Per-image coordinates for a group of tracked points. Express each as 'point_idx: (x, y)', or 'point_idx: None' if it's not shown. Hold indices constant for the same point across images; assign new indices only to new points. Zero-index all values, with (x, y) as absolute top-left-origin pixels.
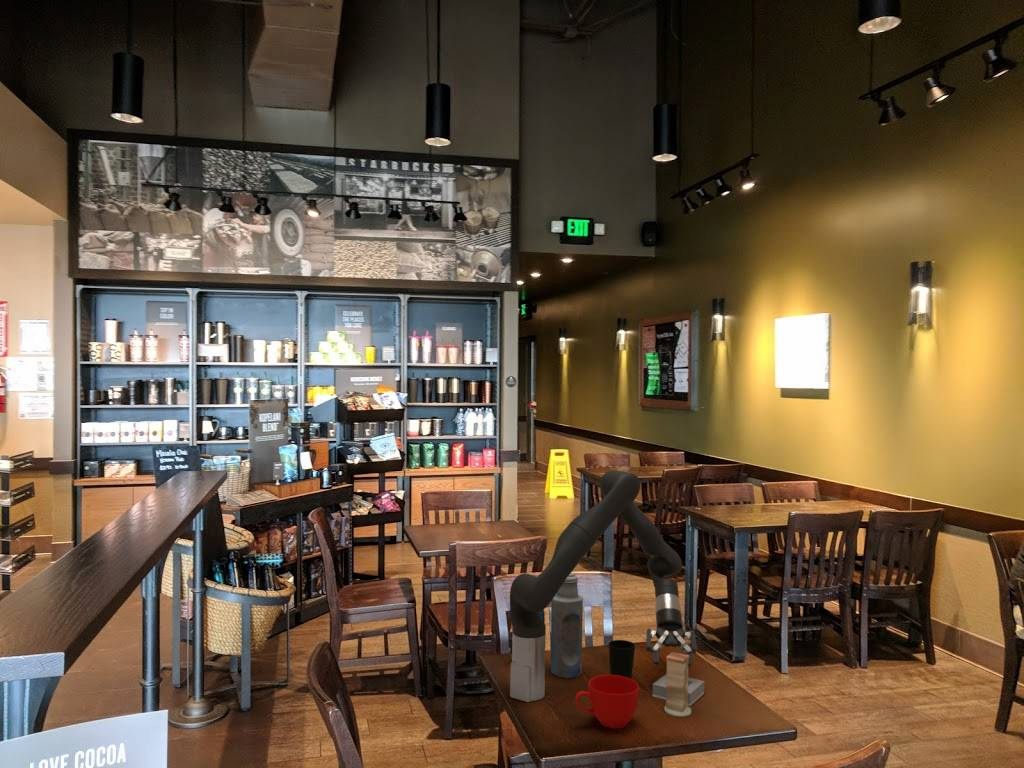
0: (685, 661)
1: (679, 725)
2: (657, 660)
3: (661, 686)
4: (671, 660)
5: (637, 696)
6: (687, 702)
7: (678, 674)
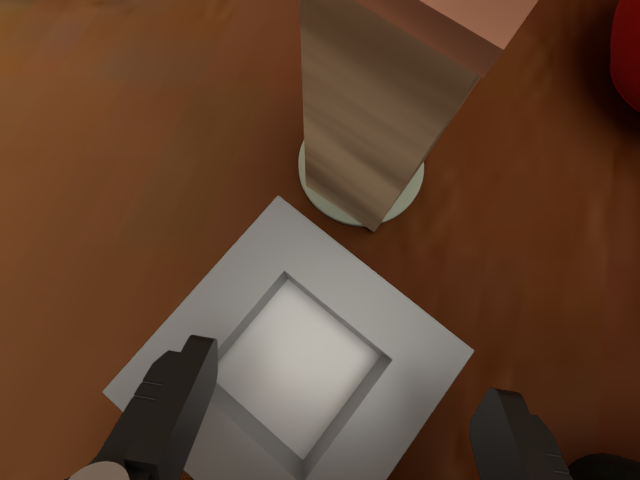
0: None
1: None
2: (519, 408)
3: (424, 311)
4: None
5: None
6: (306, 176)
7: None
